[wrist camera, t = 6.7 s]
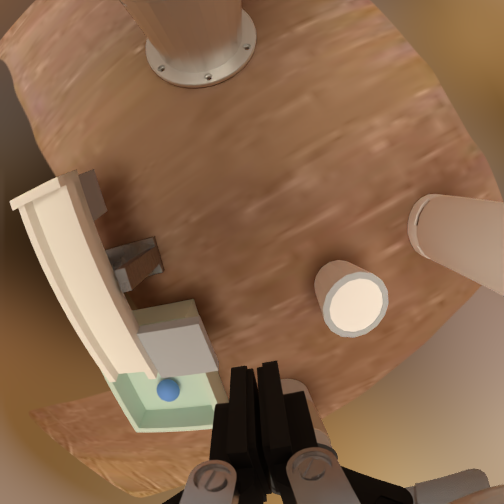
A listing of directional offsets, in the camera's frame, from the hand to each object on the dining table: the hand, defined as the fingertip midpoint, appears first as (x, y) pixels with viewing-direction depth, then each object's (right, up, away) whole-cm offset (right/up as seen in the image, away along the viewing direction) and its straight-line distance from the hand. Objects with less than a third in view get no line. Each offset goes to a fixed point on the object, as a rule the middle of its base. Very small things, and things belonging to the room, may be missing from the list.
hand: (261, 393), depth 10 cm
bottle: (+22, +9, +22) cm, 33 cm away
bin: (-12, -9, +25) cm, 29 cm away
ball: (-11, -12, +24) cm, 29 cm away
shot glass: (+9, +2, +24) cm, 25 cm away
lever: (-12, +4, +16) cm, 20 cm away
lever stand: (-15, +4, +22) cm, 27 cm away
